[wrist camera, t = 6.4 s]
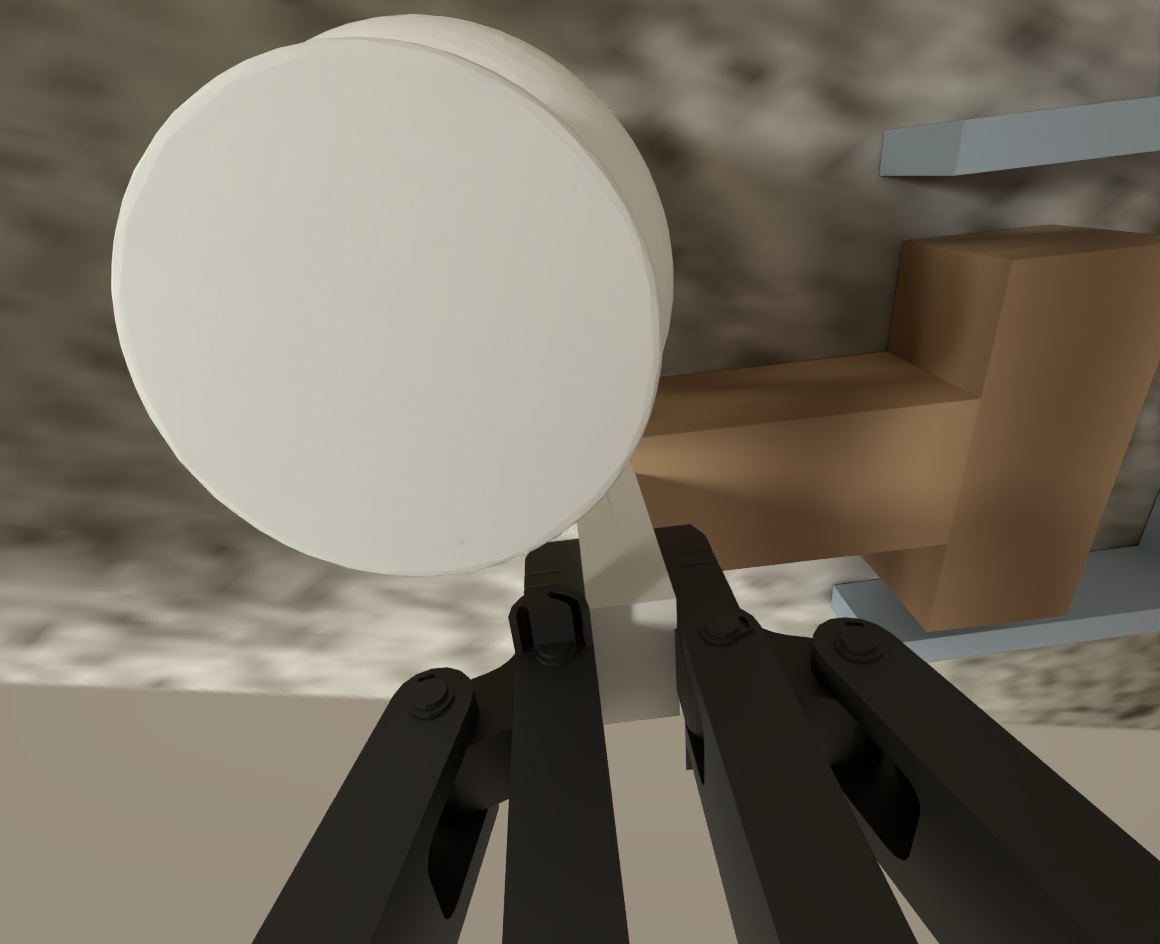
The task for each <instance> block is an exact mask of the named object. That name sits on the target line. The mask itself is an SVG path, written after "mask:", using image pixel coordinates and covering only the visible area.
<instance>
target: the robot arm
mask: <svg viewBox="0 0 1160 944" xmlns="http://www.w3.org/2000/svg"><path fill="white" fill-rule="evenodd" d="M577 525H578V534H579V539H572V540H564V541H555V542H547V543H546V544H544V545H542V546H540V547H539V548H537V549H535V550H533V551H530V552H529V554H528V555H527V557H526V558H525V579H524V589H525V590H524V596H522V597H521V598H520V599H519V600H518V601H517V602H516V603H515V604H514V605H513V606H512V608H511V611H510V614H509V616H508V618H509V623H510V628H511V633H512V638H513V643H514V648H515V654H514V656H513V657H512V658H511V659H510V660H509V661H508V662H506V663H505V664H503V665H502V666H501V667H499V668H497V669H495V670H493V671H491V672H489V673H486V674H484V675H481V676H479V677H476V678H473V679H471V680H470V678H469V677H468V676H466V675H465V674H464V673H463V672H461V671H460V670H456V669H452V668H448V667H446V668H435V669H430V670H427V671H424V672H422V673H419V674H416V675H415V676H414V677H412V678H411V679H409V680H408V681H406V682H405V683H403V684H402V686H401V687H400V688H399V689H398V690H397V692H396V693H395V694H394V695H393V697H392V699H391V700H390V702H389V704H388V706H387V708H386V709H385V711H384V713H383V715H382V716H381V718H380V720H379V722H378V723H377V725H376V727H375V729H374V730H373V732H372V734H371V735H370V737H369V739H368V741H367V743H366V744H365V746H364V748H363V750H362V751H361V753H360V755H359V756H358V758H357V760H356V762H355V763H354V765H353V767H352V769H351V770H350V772H349V774H348V776H347V778H346V779H345V781H344V783H343V785H342V786H341V788H340V790H339V792H338V793H337V795H336V797H335V798H334V800H333V802H332V804H331V805H330V807H329V809H328V811H327V812H326V814H325V816H324V818H323V819H322V821H321V823H320V825H319V827H318V828H317V830H316V832H315V834H314V835H313V837H312V839H311V841H310V842H309V844H308V846H307V847H306V849H305V851H304V853H303V855H302V856H301V858H300V860H299V861H298V863H297V865H296V867H295V869H294V870H293V872H292V874H291V875H290V877H289V879H288V881H287V882H286V884H285V886H284V888H283V889H282V891H281V893H280V895H279V897H278V898H277V900H276V902H275V904H274V905H273V907H272V909H271V911H270V912H269V914H268V916H267V918H266V919H265V921H264V923H263V925H262V926H261V928H260V930H259V932H258V933H257V935H256V937H255V939H254V940H253V942H252V944H457V943H458V940H459V936H460V933H461V930H462V927H463V923H464V920H465V917H466V914H467V910H468V907H469V904H470V900H471V897H472V894H473V891H474V887H475V884H476V881H477V878H478V874H479V871H480V868H481V865H482V862H483V858H484V855H485V852H486V849H487V845H488V842H489V839H490V836H491V832H492V829H493V826H494V822H495V819H496V816H497V813H498V809H499V803H501V802H503V801H505V800H507V799H509V810H508V831H507V853H506V854H507V855H506V874H505V895H504V916H503V917H504V918H503V937H502V944H629V936H628V928H627V920H626V911H625V902H624V894H623V886H622V878H621V869H620V860H619V853H618V844H617V835H616V827H615V819H614V810H613V802H612V794H611V786H610V778H609V769H608V760H607V753H606V744H605V735H604V727H603V725H604V724H612V723H620V722H629V721H636V720H646V719H654V718H662V717H669V716H678V715H680V706H679V700H680V704H681V707H682V711H683V715H684V719H685V734H686V735H685V736H686V769H687V770H691V769H693V771H694V775H695V779H696V783H697V787H698V791H699V795H700V798H701V802H702V806H703V810H704V814H705V818H706V821H707V825H708V829H709V833H710V837H711V841H712V845H713V849H714V853H715V856H716V860H717V864H718V868H719V872H720V876H721V879H722V883H723V887H724V891H725V895H726V899H727V903H728V907H729V910H730V914H731V918H732V922H733V926H734V929H735V934H736V937H737V941H738V944H918V942H917V941H916V938H915V936H914V934H913V932H912V930H911V928H910V927H909V924H908V922H907V920H906V919H905V916H904V914H903V912H902V910H901V908H900V906H899V904H898V902H897V900H896V898H895V896H894V894H893V892H892V890H891V888H890V886H889V884H888V882H887V880H886V878H885V876H884V874H883V872H882V870H881V868H880V866H879V864H880V865H881V867H882V868H883V869H884V870H885V872H886V873H887V874H888V876H889V877H890V879H891V880H892V881H893V883H894V884H895V885H896V886H897V888H898V889H899V891H900V892H901V893H902V895H903V896H904V897H905V899H907V901H908V902H909V904H910V905H911V906H912V908H913V909H914V911H915V912H916V913H917V915H918V916H919V917H920V918H921V920H922V921H923V922H924V924H925V925H926V926H927V928H928V929H929V931H930V932H931V933H932V935H933V936H934V937H935V938H936V940H937V941H938V943H939V944H1160V861H1159V860H1158V859H1157V858H1156V857H1155V856H1153V855H1152V854H1151V853H1150V852H1149V851H1147V850H1146V849H1145V848H1144V847H1143V846H1142V845H1140V844H1139V843H1138V842H1137V841H1136V840H1135V839H1133V838H1132V837H1131V836H1130V835H1129V834H1127V833H1126V832H1125V831H1124V830H1123V829H1122V828H1120V827H1119V826H1118V825H1117V824H1116V823H1115V822H1113V821H1112V820H1111V819H1110V818H1108V817H1107V816H1106V815H1105V814H1104V813H1102V811H1100V810H1099V809H1098V808H1097V807H1096V806H1095V805H1093V804H1092V803H1091V802H1090V801H1089V800H1087V799H1086V798H1085V797H1084V796H1083V795H1082V794H1080V793H1079V792H1078V791H1077V790H1076V789H1074V788H1073V787H1072V786H1071V785H1070V784H1069V783H1067V782H1066V781H1065V780H1064V779H1063V778H1061V777H1060V776H1059V775H1058V774H1057V773H1056V772H1054V771H1053V770H1052V769H1051V768H1050V767H1049V766H1047V765H1046V764H1045V763H1044V762H1042V760H1040V759H1039V758H1038V757H1037V756H1036V755H1035V754H1033V753H1032V752H1031V751H1030V750H1029V749H1027V748H1026V747H1025V746H1024V745H1022V743H1020V742H1019V741H1018V740H1017V739H1016V738H1015V737H1013V736H1012V735H1011V734H1010V733H1008V732H1007V731H1006V730H1005V729H1004V728H1003V727H1002V726H1000V725H999V724H998V723H997V722H996V721H995V720H993V719H992V718H991V717H990V716H989V715H987V714H986V713H985V712H984V711H983V710H982V709H980V708H979V707H978V706H977V705H976V704H975V703H973V702H972V701H971V700H970V699H969V698H967V697H966V696H965V695H964V694H963V693H962V692H960V691H959V690H958V689H957V688H956V687H955V686H953V685H952V684H951V683H950V682H949V681H947V680H946V679H945V678H944V677H943V676H942V675H940V674H939V673H938V672H937V671H936V670H934V669H933V668H932V667H931V666H930V665H929V664H927V663H926V662H925V661H924V660H923V659H922V658H920V657H919V656H918V655H917V654H916V653H914V652H913V651H912V650H911V649H910V648H909V647H907V646H906V645H905V644H904V643H903V642H902V641H900V640H899V639H898V638H897V637H896V636H894V635H893V634H892V633H890V632H889V631H887V630H886V629H884V628H883V627H881V626H880V625H878V624H875V623H872V622H869V621H866V620H863V619H858V618H848V617H842V618H835V619H830V620H828V621H826V622H824V623H822V624H820V625H819V626H818V628H817V629H816V631H815V633H814V634H813V638H808V637H800V636H791V635H784V634H779V633H774V632H771V631H769V630H766V629H763V628H762V627H761V625H760V624H759V623H758V622H757V620H756V619H755V618H754V617H753V616H752V615H751V614H749V613H747V612H746V611H744V610H742V609H740V607H739V605H738V603H737V601H736V599H735V597H734V595H733V593H732V590H731V588H730V586H729V584H728V582H727V580H726V578H725V576H724V573H723V571H722V569H721V567H720V565H718V561H717V559H716V556H715V554H714V553H713V551H712V548H711V546H710V544H709V542H708V539H707V537H706V535H704V534H703V533H702V532H700V531H699V530H698V529H696V528H695V527H694V526H693V525H691V524H686V525H677V526H669V527H661V528H653V527H652V524H651V521H650V518H649V515H648V511H647V508H646V505H645V502H644V499H643V496H642V493H641V490H640V487H639V484H638V481H637V478H636V475H635V473H634V470H633V467H632V464H631V461H629V463H628V465H627V466H626V468H625V469H624V471H623V472H622V474H621V476H620V477H619V478H618V479H617V481H616V482H615V483H614V484H613V485H612V486H611V488H610V489H609V490H608V492H607V493H606V494H605V496H604V497H603V498H602V499H601V500H600V501H599V502H598V503H597V504H596V505H595V506H594V507H593V508H592V509H591V510H590V511H589V512H588V513H587V514H585V515H584V516H583V517H582V518H581V519H580V520H579V521H578V522H577ZM877 861H878V862H877ZM878 863H879V864H878Z"/></svg>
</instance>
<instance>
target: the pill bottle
mask: <svg viewBox="0 0 1160 944" xmlns="http://www.w3.org/2000/svg"><path fill="white" fill-rule="evenodd" d="M111 292H112V300H113V307H114V315H115V323H116V327H117V332H118V336H119V341H120V345H121V349H122V352H123V355H124V358H125V361H126V364H127V367H128V369H129V372H130V374H131V377H132V380H133V382H134V385H135V388H136V390H137V392H138V394H139V396H140V398H141V400H142V402H143V404H144V406H145V408H146V410H147V412H148V414H149V416H150V418H151V420H152V421H153V423H154V424H155V426H156V427H157V429H158V430H159V432H160V433H161V435H162V436H163V437H164V439H165V440H166V442H167V443H168V445H169V446H170V448H171V449H172V451H173V452H174V453H175V455H176V456H177V458H178V459H179V461H180V462H181V463H182V464H183V465H184V466H185V467H186V468H187V469H188V470H189V471H190V472H191V473H192V474H193V475H194V476H195V477H196V478H197V479H198V480H199V482H200V483H201V484H202V485H203V486H204V487H205V488H206V489H207V490H208V491H209V492H210V493H211V494H212V495H213V496H214V497H215V498H216V499H217V500H219V501H220V502H221V503H223V504H224V505H225V506H227V507H228V508H229V509H231V510H232V511H233V512H234V513H236V514H237V515H238V516H240V517H241V518H243V519H244V520H245V521H247V522H248V523H250V524H251V525H253V526H254V527H255V528H257V529H258V530H260V531H262V532H263V533H265V534H267V535H269V536H270V537H272V538H274V539H276V540H277V541H279V542H281V543H283V544H285V545H287V546H289V547H291V548H294V549H296V550H298V551H300V552H302V553H304V554H307V555H309V556H312V557H315V558H318V559H322V560H325V561H328V562H331V563H334V564H337V565H341V566H344V567H347V568H351V569H356V570H360V571H365V572H372V573H378V574H384V575H396V576H442V575H451V574H460V573H468V572H472V571H476V570H480V569H483V568H487V567H491V566H494V565H498V564H501V563H504V562H507V561H509V560H512V559H514V558H516V557H519V556H521V555H523V554H526V553H528V552H530V551H533V550H535V549H537V548H539V547H540V546H542V545H544V544H546V543H547V542H549V541H551V540H553V539H554V538H556V537H558V536H559V535H560V534H561V533H563V532H564V531H565V530H567V529H568V528H569V527H571V526H572V525H573V524H575V523H576V522H578V521H579V520H580V519H581V518H582V517H583V516H584V515H585V514H587V513H588V512H589V511H590V510H591V509H592V508H593V507H594V506H595V505H596V504H597V503H598V502H599V501H600V500H601V499H602V498H603V497H604V496H605V494H606V493H607V492H608V490H609V489H610V488H611V486H612V485H613V484H614V483H615V482H616V481H617V479H618V478H619V477H620V476H621V474H622V472H623V471H624V469H625V468H626V466H627V465H628V463H629V461H630V460H631V458H632V457H633V455H634V453H635V451H636V449H637V446H638V444H639V442H640V440H641V438H642V436H643V433H644V431H645V428H646V426H647V423H648V421H649V418H650V415H651V412H652V408H653V405H654V401H655V397H656V393H657V388H658V383H659V377H660V372H661V365H662V354H663V350H664V347H665V343H666V339H667V336H668V332H669V327H670V320H671V312H672V304H673V258H672V249H671V242H670V236H669V229H668V225H667V221H666V217H665V213H664V209H663V206H662V203H661V200H660V197H659V194H658V191H657V189H656V186H655V184H654V181H653V179H652V176H651V174H650V171H649V169H648V167H647V165H646V163H645V162H644V160H643V158H642V156H641V154H640V152H639V150H638V149H637V147H636V145H635V143H634V142H633V140H632V138H631V137H630V136H629V134H628V133H627V132H626V130H625V129H624V128H623V126H622V125H621V123H620V122H619V121H618V119H617V118H616V117H615V115H614V114H613V113H612V112H611V110H610V109H609V108H608V107H607V106H606V105H605V104H604V103H603V102H602V101H601V100H600V99H599V98H598V97H597V96H596V95H595V94H594V93H593V92H592V91H591V90H590V89H589V88H588V87H587V86H586V85H585V84H584V83H583V82H582V81H581V80H580V79H579V78H578V77H577V76H575V75H574V74H573V73H572V72H570V71H569V70H568V69H567V68H565V67H564V66H563V65H562V64H560V63H559V62H557V61H556V60H555V59H553V58H552V57H551V56H549V55H547V54H546V53H544V52H542V51H541V50H539V49H537V48H536V47H534V46H532V45H530V44H529V43H527V42H525V41H522V40H520V39H518V38H516V37H513V36H511V35H509V34H507V33H504V32H502V31H500V30H497V29H494V28H491V27H488V26H484V25H481V24H478V23H474V22H471V21H468V20H462V19H457V18H451V17H444V16H434V15H423V14H405V15H393V16H381V17H374V18H370V19H365V20H361V21H356V22H352V23H348V24H345V25H342V26H339V27H336V28H334V29H331V30H328V31H326V32H324V33H321V34H319V35H317V36H315V37H313V38H311V39H309V40H307V41H305V42H303V43H299V44H294V45H290V46H285V47H281V48H277V49H274V50H271V51H269V52H266V53H263V54H261V55H258V56H255V57H252V58H250V59H247V60H245V61H243V62H241V63H239V64H237V65H236V66H234V67H232V68H230V69H228V70H227V71H225V72H223V73H221V74H219V75H218V76H216V77H215V78H214V79H212V80H211V81H210V82H208V83H207V84H206V85H204V86H203V87H202V88H201V89H199V90H198V91H197V92H196V93H195V94H194V95H192V96H191V97H190V98H189V99H188V100H186V101H185V102H184V103H183V104H182V105H181V106H179V107H178V108H177V109H176V110H175V111H174V112H173V113H172V114H171V116H170V117H169V118H168V119H167V121H166V122H165V123H164V124H163V126H162V127H161V128H160V129H159V131H158V132H157V133H156V135H155V136H154V138H153V140H152V141H151V143H150V145H149V146H148V148H147V150H146V151H145V153H144V155H143V156H142V158H141V160H140V161H139V163H138V165H137V166H136V168H135V169H134V172H133V174H132V177H131V179H130V182H129V185H128V187H127V190H126V192H125V195H124V197H123V200H122V204H121V208H120V213H119V217H118V221H117V226H116V230H115V236H114V242H113V254H112V276H111Z"/></svg>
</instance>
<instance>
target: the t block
mask: <svg viewBox="0 0 1160 944" xmlns="http://www.w3.org/2000/svg"><path fill="white" fill-rule="evenodd" d="M1159 361H1160V235H1155V234H1144V233H1134V232H1123V231H1113V230H1102V229H1092V228H1081V227H1071V226H1060V225H1044V226H1035V227H1026V228H1017V229H1008V230H999V231H990V232H981V233H971V234H962V235H953V236H944V237H935V238H926V239H917V240H908V241H904V242H903V248H902V255H901V262H900V269H899V276H898V282H897V289H896V296H895V303H894V309H893V316H892V323H891V330H890V337H889V343H888V350H887V352H880V353H871V354H862V355H853V356H844V357H836V358H827V359H818V360H809V361H800V362H791V363H782V364H774V365H765V366H756V367H747V368H738V369H729V370H720V371H712V372H703V373H694V374H685V375H676V376H667V377H659V383H658V388H657V393H656V397H655V401H654V405H653V408H652V412H651V415H650V418H649V421H648V423H647V426H646V428H645V431H644V433H643V436H642V438H641V440H640V442H639V444H638V446H637V449H636V451H635V453H634V455H633V457H632V458H631V460H630V461H631V464H632V467H633V470H634V473H635V475H636V478H637V481H638V484H639V487H640V490H641V493H642V496H643V499H644V502H645V505H646V508H647V511H648V515H649V518H650V521H651V524H652V527H653V528H661V527H669V526H677V525H686V524H691V525H693V526H694V527H695V528H696V529H698V530H699V531H700V532H702V533H703V534H704V535H706V537H707V539H708V542H709V544H710V546H711V548H712V551H713V553H714V554H715V556H716V559H717V561H718V565H720V567H721V569H722V571H725V570H733V569H742V568H750V567H759V566H767V565H776V564H784V563H793V562H801V561H809V560H818V559H826V558H835V557H843V556H852V555H860V554H861V556H862V557H863V558H864V559H865V560H866V561H867V563H868V564H869V565H870V566H871V567H872V568H873V570H874V571H875V572H876V573H877V574H878V576H879V577H880V578H881V579H882V580H883V581H884V583H885V584H886V585H887V586H888V587H889V588H890V590H891V591H892V592H893V593H894V594H895V595H896V597H897V598H898V599H899V600H900V601H901V602H902V604H903V605H904V606H905V607H906V608H907V609H908V611H909V612H910V613H911V614H912V615H913V617H914V618H915V619H916V620H917V621H918V622H919V624H920V625H921V626H922V627H923V628H924V629H925V631H926V632H934V631H942V630H950V629H959V628H967V627H975V626H984V625H992V624H1000V623H1009V622H1017V621H1025V620H1034V619H1042V618H1050V617H1059V616H1066V614H1067V612H1068V609H1069V606H1070V603H1071V601H1072V598H1073V595H1074V592H1075V590H1076V587H1077V584H1078V582H1079V579H1080V576H1081V573H1082V571H1083V568H1084V565H1085V562H1086V560H1087V557H1088V554H1089V552H1090V549H1091V546H1092V543H1093V541H1094V538H1095V535H1096V532H1097V530H1098V527H1099V524H1100V522H1101V519H1102V516H1103V513H1104V511H1105V508H1106V505H1107V502H1108V500H1109V497H1110V494H1111V492H1112V489H1113V486H1114V483H1115V481H1116V478H1117V475H1118V473H1119V470H1120V467H1121V464H1122V462H1123V459H1124V456H1125V453H1126V451H1127V448H1128V445H1129V443H1130V440H1131V437H1132V434H1133V432H1134V429H1135V426H1136V423H1137V421H1138V418H1139V415H1140V413H1141V410H1142V407H1143V404H1144V402H1145V399H1146V396H1147V393H1148V391H1149V388H1150V385H1151V383H1152V380H1153V377H1154V374H1155V372H1156V369H1157V366H1158V363H1159Z"/></svg>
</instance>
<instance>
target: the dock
mask: <svg viewBox="0 0 1160 944" xmlns="http://www.w3.org/2000/svg"><path fill="white" fill-rule="evenodd" d="M1151 151H1160V96H1155V97H1147V98H1139V99H1130V100H1122V101H1114V102H1106V103H1097V104H1089V105H1081V106H1073V107H1064V108H1056V109H1048V110H1040V111H1032V112H1023V113H1015V114H1007V115H999V116H990V117H982V118H974V119H966V120H958V121H951V122H943V123H936V124H928V125H921V126H913V127H906V128H899V129H891V130H884V138H883V147H882V156H881V165H880V174H879V176H955V175H964V174H972V173H980V172H988V171H996V170H1004V169H1013V168H1021V167H1029V166H1037V165H1045V164H1053V163H1062V162H1070V161H1078V160H1086V159H1094V158H1102V157H1111V156H1119V155H1127V154H1135V153H1143V152H1151ZM831 608H832V610H833V611H834V612H835V614H836V615H837V617H838V618H842V617H848V618H858V619H863V620H866V621H869V622H872V623H875V624H878V625H880V626H881V627H883V628H884V629H886V630H887V631H889V632H890V633H892V634H893V635H894V636H896V637H897V638H898V639H899V640H900V641H902V642H903V643H904V644H905V645H906V646H907V647H909V648H910V649H911V650H912V651H913V652H914V653H916V654H917V655H918V656H919V657H920V658H922V659H923V660H924V661H925V662H934V661H942V660H949V659H957V658H964V657H972V656H980V655H987V654H995V653H1002V652H1010V651H1017V650H1025V649H1033V648H1040V647H1048V646H1055V645H1063V644H1070V643H1078V642H1086V641H1093V640H1101V639H1108V638H1116V637H1124V636H1131V635H1139V634H1146V633H1154V632H1160V492H1159V494H1158V497H1157V499H1156V502H1155V504H1154V507H1153V510H1152V512H1151V515H1150V517H1149V520H1148V522H1147V525H1146V527H1145V530H1144V532H1143V535H1142V537H1141V540H1140V542H1139V545H1138V546H1131V547H1123V548H1116V549H1108V550H1100V551H1092V552H1089V554H1088V557H1087V560H1086V562H1085V565H1084V568H1083V571H1082V573H1081V576H1080V579H1079V582H1078V584H1077V587H1076V590H1075V592H1074V595H1073V598H1072V601H1071V603H1070V606H1069V609H1068V612H1067V614H1066V616H1059V617H1050V618H1042V619H1034V620H1025V621H1017V622H1009V623H1000V624H992V625H984V626H975V627H967V628H959V629H950V630H942V631H934V632H926V631H925V629H924V628H923V627H922V626H921V625H920V624H919V622H918V621H917V620H916V619H915V618H914V617H913V615H912V614H911V613H910V612H909V611H908V609H907V608H906V607H905V606H904V605H903V604H902V602H901V601H900V600H899V599H898V598H897V597H896V595H895V594H894V593H893V592H892V591H891V590H890V588H889V587H888V586H887V585H886V584H885V583H884V581H883V580H882V579H877V580H870V581H862V582H854V583H847V584H839V585H833V593H832V602H831Z"/></svg>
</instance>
